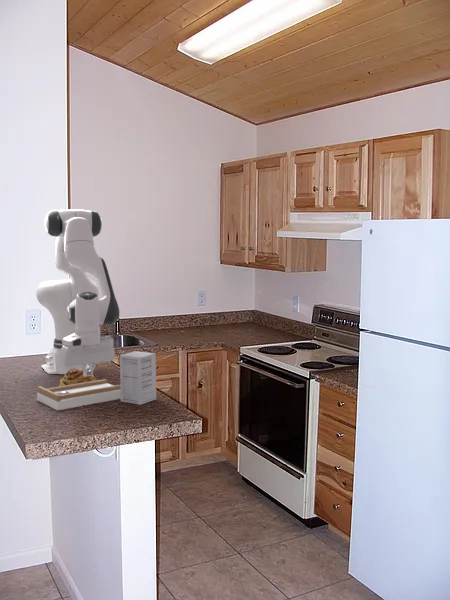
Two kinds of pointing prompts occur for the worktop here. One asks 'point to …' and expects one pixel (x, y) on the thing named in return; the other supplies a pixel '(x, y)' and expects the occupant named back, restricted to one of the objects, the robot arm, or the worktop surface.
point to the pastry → (75, 377)
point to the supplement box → (138, 377)
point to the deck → (78, 394)
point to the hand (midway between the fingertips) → (88, 375)
